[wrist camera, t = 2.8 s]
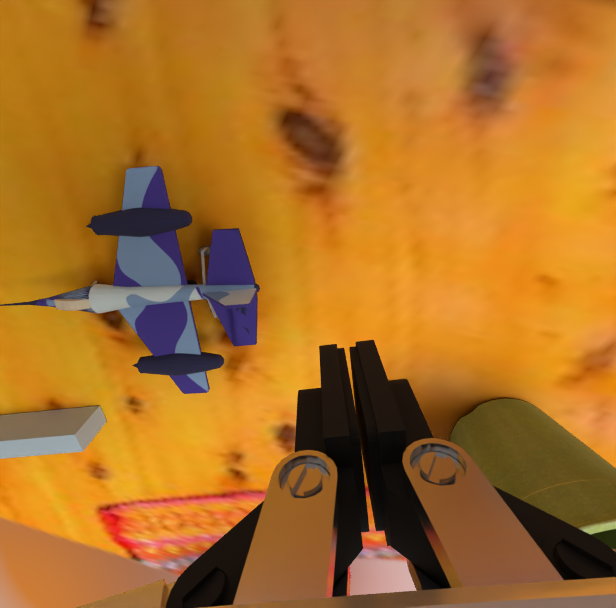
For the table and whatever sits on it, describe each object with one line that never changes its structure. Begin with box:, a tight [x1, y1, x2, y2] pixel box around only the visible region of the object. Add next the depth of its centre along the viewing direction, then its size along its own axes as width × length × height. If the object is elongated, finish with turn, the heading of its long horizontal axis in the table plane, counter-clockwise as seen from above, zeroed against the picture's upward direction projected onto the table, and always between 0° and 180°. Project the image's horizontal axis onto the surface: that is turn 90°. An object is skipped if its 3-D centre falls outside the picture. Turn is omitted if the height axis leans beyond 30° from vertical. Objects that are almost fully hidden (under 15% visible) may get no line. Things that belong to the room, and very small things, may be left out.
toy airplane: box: [0, 166, 260, 394], centre depth 21 cm, size 13×14×4 cm
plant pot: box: [450, 399, 616, 549], centre depth 22 cm, size 12×12×11 cm
